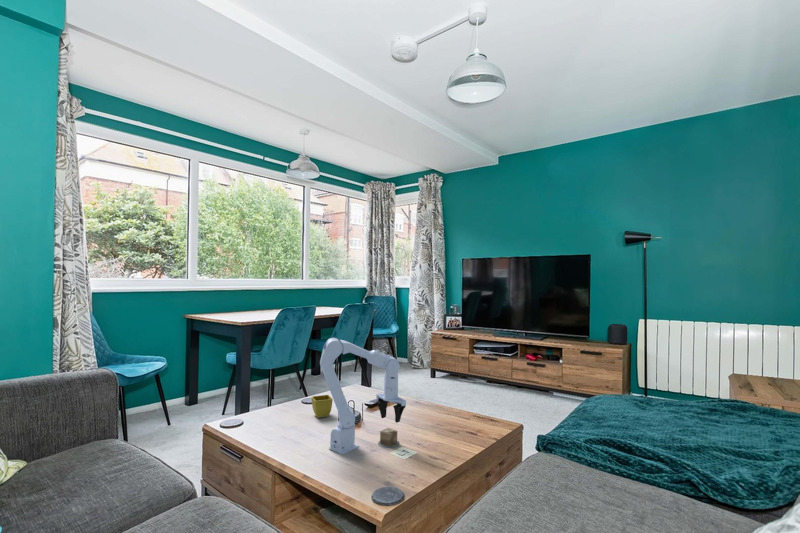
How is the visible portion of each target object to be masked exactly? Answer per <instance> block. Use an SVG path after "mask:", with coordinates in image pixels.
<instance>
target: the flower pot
mask: <svg viewBox="0 0 800 533" xmlns="http://www.w3.org/2000/svg"><path fill="white" fill-rule="evenodd" d="M333 402H334V399H333V397H332V396H330V395H329V394H323V395H313V396H311V406H312V410H313V413H314V415H315V416H316V417H317V418H318V419H320V418H326V417H329V415H330V414H331V412H332V407H333Z"/></svg>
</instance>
